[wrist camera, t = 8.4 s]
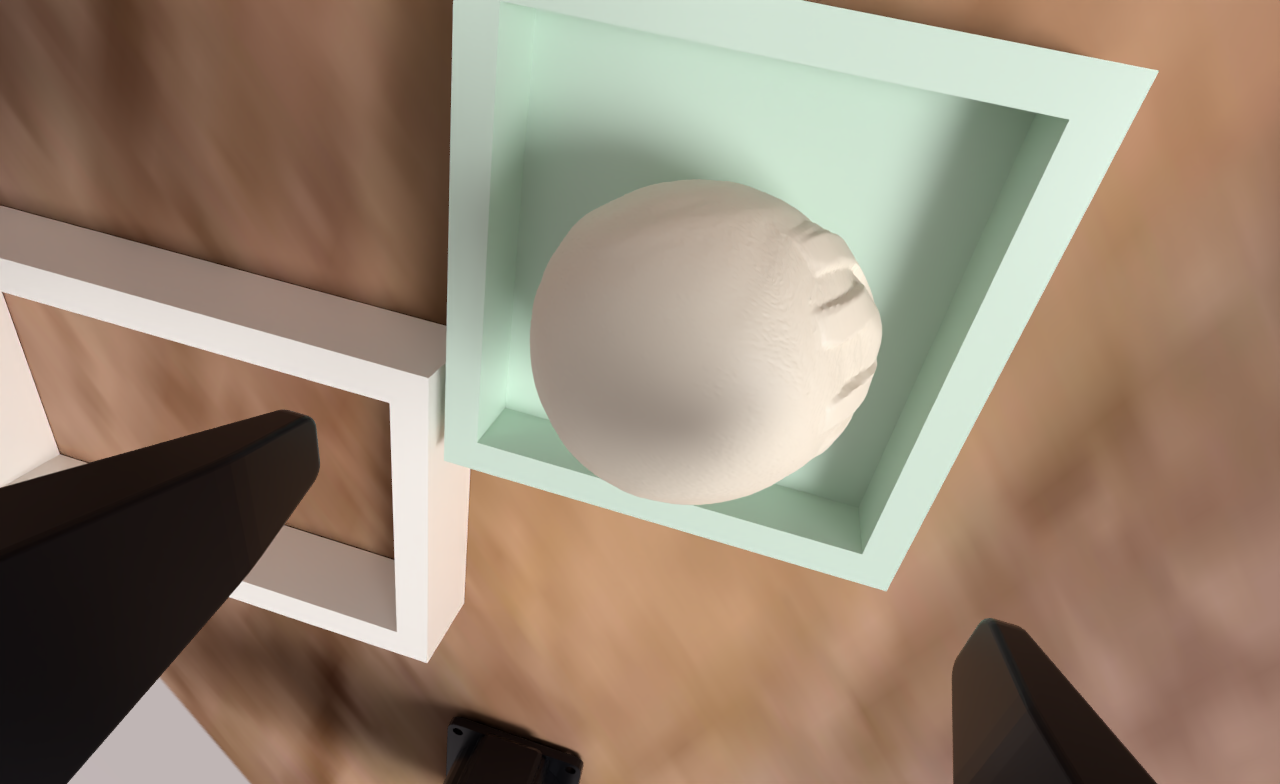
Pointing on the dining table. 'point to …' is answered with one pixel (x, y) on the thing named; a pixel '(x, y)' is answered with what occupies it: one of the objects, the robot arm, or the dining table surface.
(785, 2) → the tray
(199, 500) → the robot arm
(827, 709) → the dining table surface
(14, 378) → the shallow gray planter box
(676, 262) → the steamed bun
